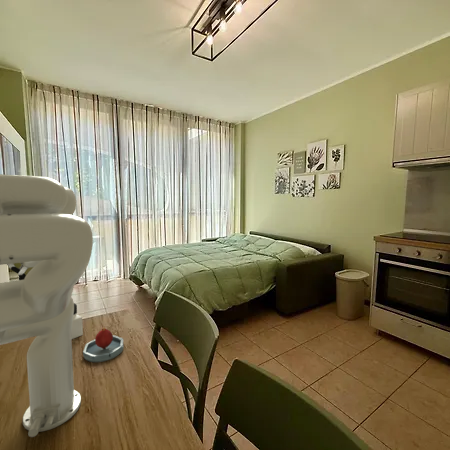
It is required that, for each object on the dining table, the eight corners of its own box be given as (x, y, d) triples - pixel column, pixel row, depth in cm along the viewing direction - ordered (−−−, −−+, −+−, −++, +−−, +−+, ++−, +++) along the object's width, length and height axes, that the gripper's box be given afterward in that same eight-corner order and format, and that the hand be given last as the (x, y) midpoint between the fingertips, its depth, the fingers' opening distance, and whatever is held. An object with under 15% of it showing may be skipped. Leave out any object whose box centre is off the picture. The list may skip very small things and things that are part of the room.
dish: (122, 358, 89) (122, 352, 89) (79, 365, 85) (79, 359, 85) (124, 338, 101) (124, 333, 101) (87, 343, 97) (87, 338, 97)
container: (74, 329, 108) (73, 299, 107) (83, 334, 104) (81, 304, 102) (53, 336, 102) (52, 305, 100) (62, 343, 97) (60, 311, 96)
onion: (96, 345, 95) (95, 325, 94) (113, 342, 97) (112, 322, 96) (95, 354, 89) (94, 333, 88) (113, 350, 92) (112, 329, 91)
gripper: (66, 227, 89) (68, 274, 91) (1, 231, 76) (5, 286, 78) (74, 229, 84) (76, 279, 86) (5, 233, 71) (10, 292, 73)
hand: (42, 282), depth 82 cm, fingers open, 9 cm apart
